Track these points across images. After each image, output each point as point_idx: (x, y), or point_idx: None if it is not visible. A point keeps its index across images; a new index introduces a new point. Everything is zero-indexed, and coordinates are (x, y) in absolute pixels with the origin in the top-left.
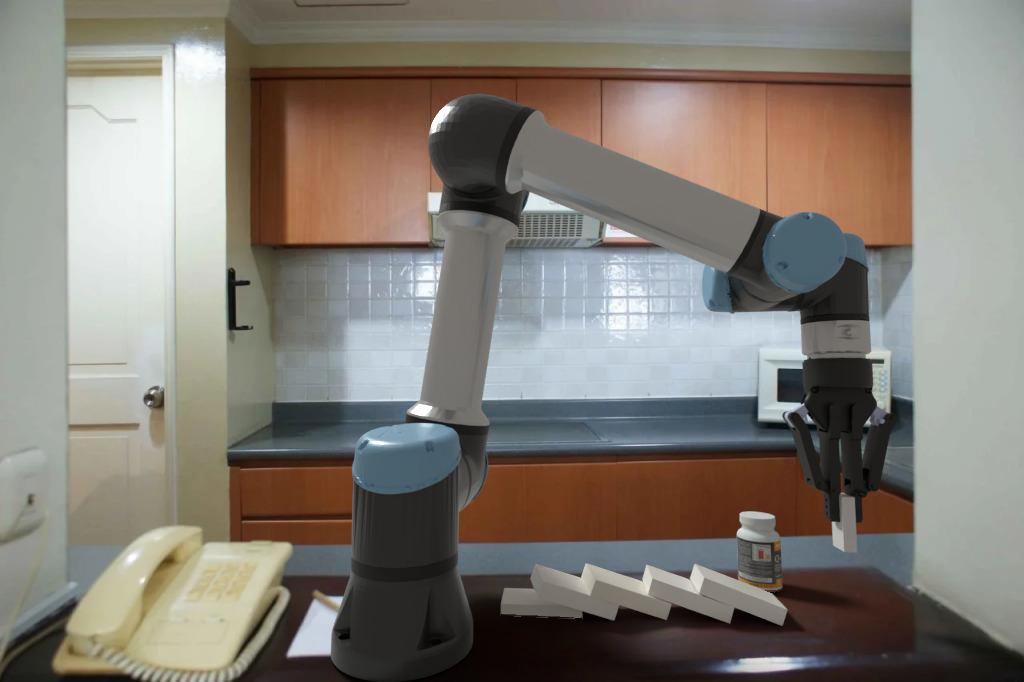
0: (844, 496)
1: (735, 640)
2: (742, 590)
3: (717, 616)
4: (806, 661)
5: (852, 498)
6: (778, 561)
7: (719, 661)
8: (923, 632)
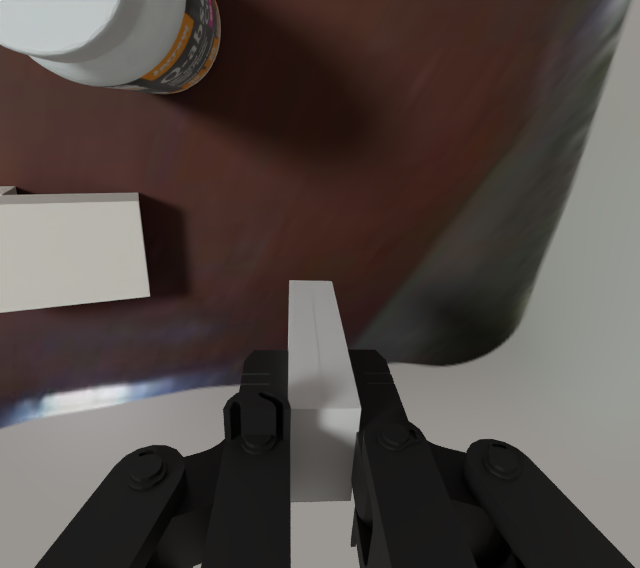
0: (310, 488)
1: (43, 343)
2: (30, 291)
3: None
4: (152, 394)
5: (339, 495)
6: (180, 72)
7: (9, 407)
8: (421, 280)
